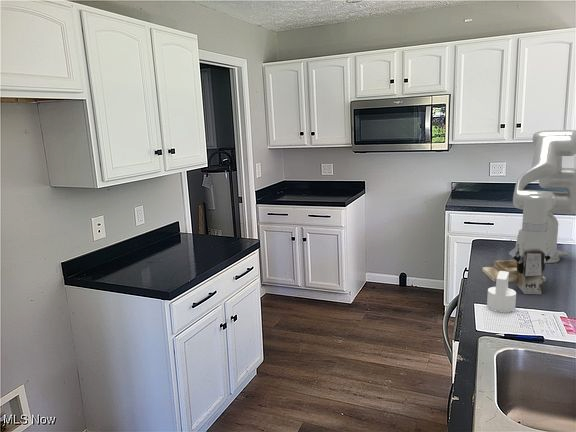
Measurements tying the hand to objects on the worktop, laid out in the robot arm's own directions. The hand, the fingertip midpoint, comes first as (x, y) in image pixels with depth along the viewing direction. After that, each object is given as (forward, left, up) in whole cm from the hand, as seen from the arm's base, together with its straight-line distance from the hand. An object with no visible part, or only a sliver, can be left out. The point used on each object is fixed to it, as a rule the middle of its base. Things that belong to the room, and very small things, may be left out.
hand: (530, 272), depth 168 cm
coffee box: (0, 0, -8) cm, 8 cm away
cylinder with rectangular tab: (+16, +16, -8) cm, 24 cm away
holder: (0, -16, -7) cm, 18 cm away
